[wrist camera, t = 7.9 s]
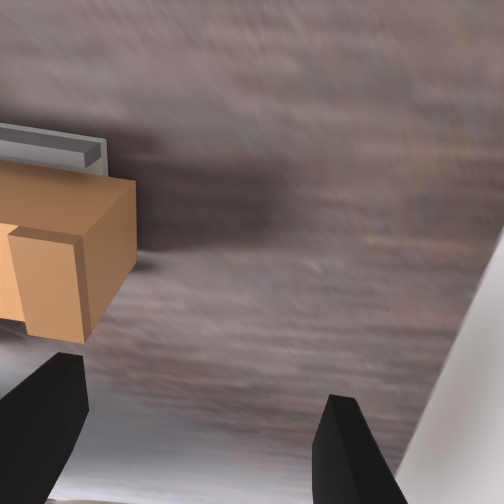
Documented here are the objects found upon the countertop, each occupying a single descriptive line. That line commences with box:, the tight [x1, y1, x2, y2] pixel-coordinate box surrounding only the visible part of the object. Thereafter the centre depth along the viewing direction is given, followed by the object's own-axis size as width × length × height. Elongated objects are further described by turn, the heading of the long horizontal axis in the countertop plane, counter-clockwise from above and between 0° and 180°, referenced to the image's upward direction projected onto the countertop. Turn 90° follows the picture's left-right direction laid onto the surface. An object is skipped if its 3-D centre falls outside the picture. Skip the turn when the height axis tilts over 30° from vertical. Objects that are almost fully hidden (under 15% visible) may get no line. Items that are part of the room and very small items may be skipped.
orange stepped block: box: [0, 160, 137, 343], centre depth 15 cm, size 4×8×6 cm, turn 82°
